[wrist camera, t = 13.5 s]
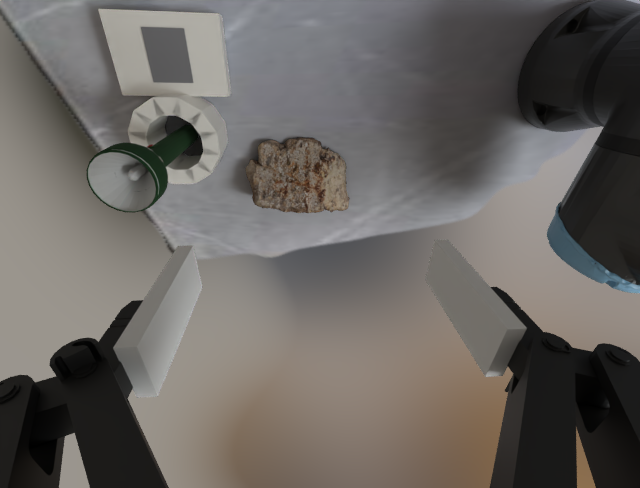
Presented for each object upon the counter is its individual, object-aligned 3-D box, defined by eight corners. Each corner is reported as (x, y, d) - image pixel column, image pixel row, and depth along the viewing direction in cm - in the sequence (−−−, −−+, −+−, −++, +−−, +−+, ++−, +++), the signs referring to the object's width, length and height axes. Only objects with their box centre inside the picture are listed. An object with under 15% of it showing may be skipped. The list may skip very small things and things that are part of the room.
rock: (247, 201, 46) (243, 218, 41) (246, 131, 41) (241, 141, 36) (344, 207, 48) (351, 223, 43) (355, 141, 43) (364, 151, 38)
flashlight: (198, 106, 39) (132, 139, 21) (217, 145, 41) (171, 202, 24) (162, 119, 39) (68, 163, 22) (183, 157, 42) (114, 222, 24)
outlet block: (222, 16, 34) (211, 7, 29) (240, 167, 43) (234, 183, 38) (109, 12, 33) (75, 1, 27) (152, 169, 42) (132, 185, 36)
